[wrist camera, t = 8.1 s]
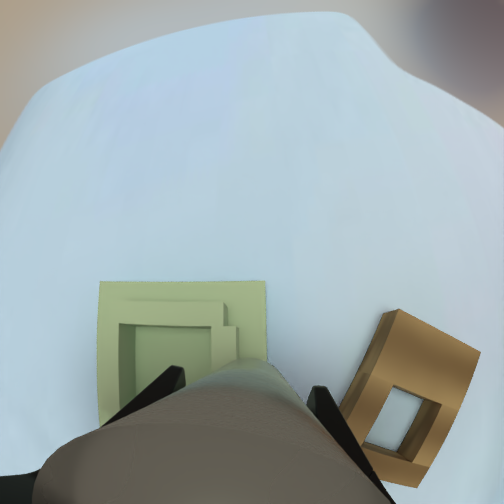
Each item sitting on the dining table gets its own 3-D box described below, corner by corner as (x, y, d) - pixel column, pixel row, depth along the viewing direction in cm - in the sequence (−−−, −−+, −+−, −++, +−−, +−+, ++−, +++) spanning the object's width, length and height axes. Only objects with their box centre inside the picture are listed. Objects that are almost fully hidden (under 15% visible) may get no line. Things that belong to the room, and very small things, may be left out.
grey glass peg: (252, 442, 14) (232, 666, 1) (195, 395, 15) (-2, 518, 1) (302, 389, 15) (466, 530, 1) (245, 342, 16) (169, 322, 2)
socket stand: (267, 449, 20) (269, 471, 15) (109, 435, 20) (82, 449, 16) (264, 284, 24) (266, 270, 19) (108, 285, 24) (81, 272, 19)
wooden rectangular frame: (401, 476, 18) (416, 488, 15) (314, 448, 20) (322, 461, 17) (460, 353, 21) (480, 352, 18) (383, 313, 23) (398, 308, 20)
